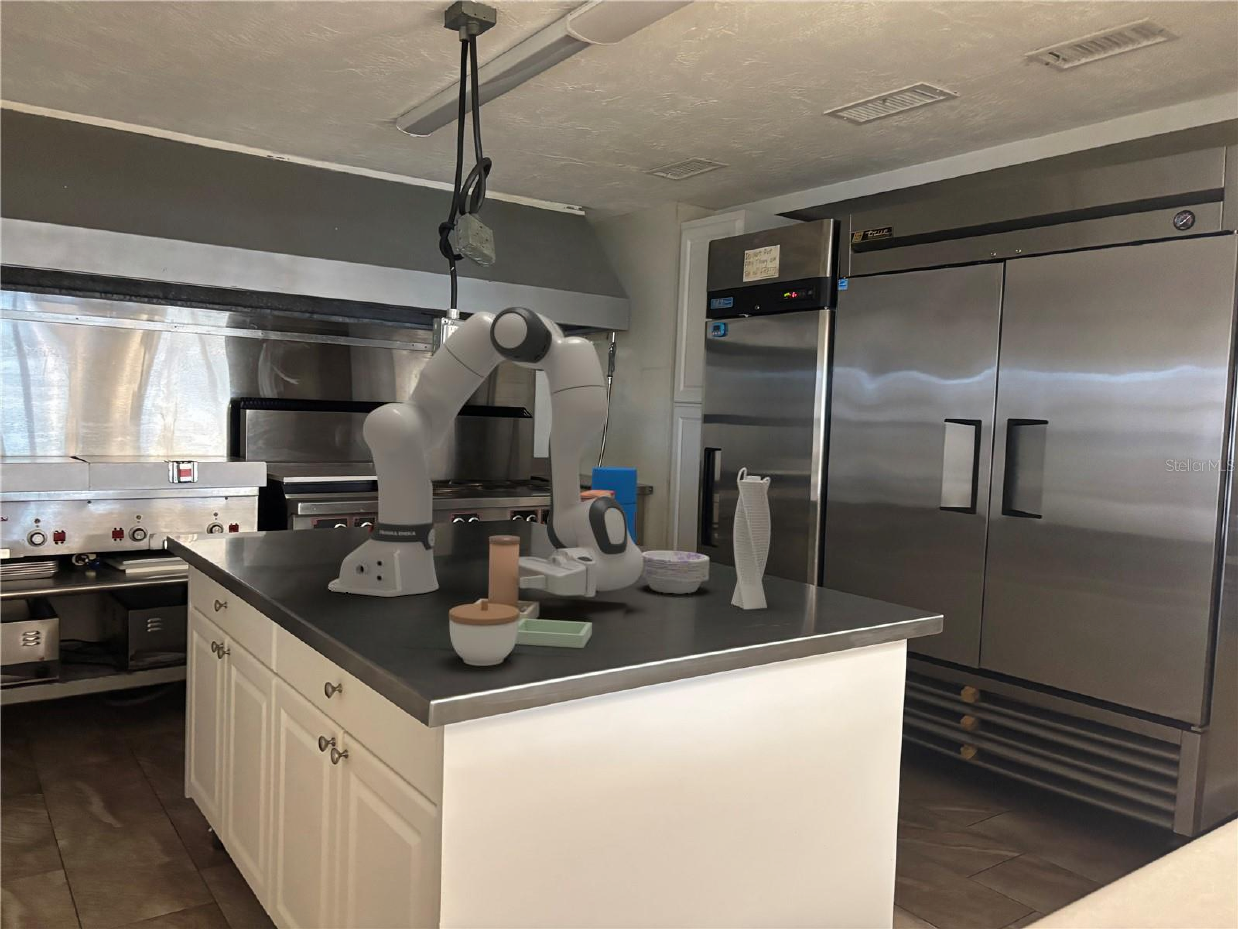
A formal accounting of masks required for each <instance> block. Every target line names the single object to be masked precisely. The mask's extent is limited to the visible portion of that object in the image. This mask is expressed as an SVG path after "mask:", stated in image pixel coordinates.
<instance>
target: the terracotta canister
mask: <svg viewBox="0 0 1238 929" xmlns="http://www.w3.org/2000/svg"><path fill="white" fill-rule="evenodd" d="M488 538H489V539H488V541H489V555H488V556H489V558H488V559H489V560H488V562H489V564H488V567H489V568H488V599H489V601H488V603H492V604H503V605H508V606H512V607H515V608H517V609H518V601H519V587H518V586H517V578H518V577H519V557H520V542H521V537H520V536H517V535H508V534H507V535H506V534H505V535H503V534H501V535H492V536H489V537H488Z"/></svg>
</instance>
